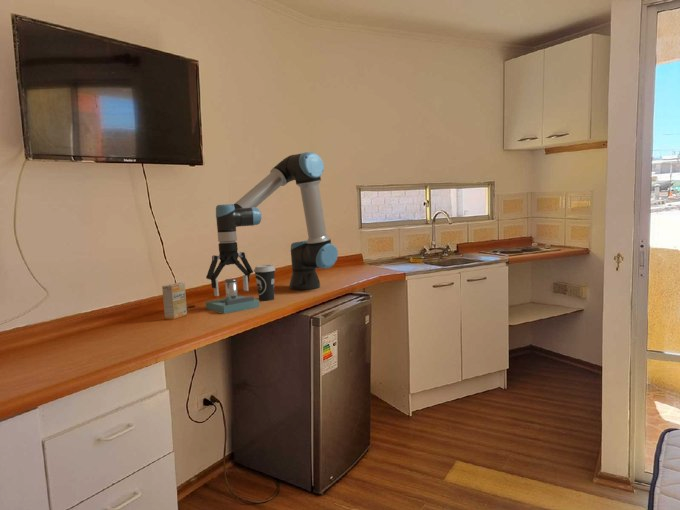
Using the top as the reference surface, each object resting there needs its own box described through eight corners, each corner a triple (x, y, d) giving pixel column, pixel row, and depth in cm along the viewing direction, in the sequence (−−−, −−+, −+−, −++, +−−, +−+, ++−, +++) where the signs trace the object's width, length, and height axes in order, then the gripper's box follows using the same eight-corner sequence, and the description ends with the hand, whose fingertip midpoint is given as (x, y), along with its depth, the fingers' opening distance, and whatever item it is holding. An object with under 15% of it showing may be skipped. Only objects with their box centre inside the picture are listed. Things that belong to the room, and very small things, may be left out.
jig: (240, 302, 228) (239, 292, 227) (259, 306, 215) (258, 295, 215) (206, 308, 217) (205, 298, 217) (224, 313, 205) (223, 302, 205)
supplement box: (174, 319, 199) (171, 286, 198) (164, 319, 201) (161, 285, 200) (188, 315, 207) (185, 282, 206) (178, 314, 209) (175, 282, 207)
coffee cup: (273, 301, 226) (271, 267, 224) (252, 301, 228) (250, 267, 226) (280, 297, 235) (278, 264, 234) (260, 297, 237) (258, 264, 236)
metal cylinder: (235, 306, 220) (233, 278, 218) (240, 307, 216) (238, 279, 215) (225, 308, 217) (222, 279, 215) (230, 309, 213) (228, 280, 212)
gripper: (249, 239, 224) (253, 287, 226) (195, 244, 209) (199, 297, 211) (258, 239, 219) (262, 289, 221) (203, 245, 203) (207, 299, 205)
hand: (231, 293), depth 216 cm, fingers open, 13 cm apart
